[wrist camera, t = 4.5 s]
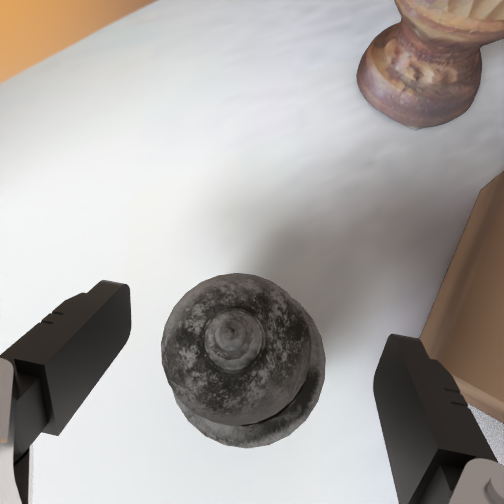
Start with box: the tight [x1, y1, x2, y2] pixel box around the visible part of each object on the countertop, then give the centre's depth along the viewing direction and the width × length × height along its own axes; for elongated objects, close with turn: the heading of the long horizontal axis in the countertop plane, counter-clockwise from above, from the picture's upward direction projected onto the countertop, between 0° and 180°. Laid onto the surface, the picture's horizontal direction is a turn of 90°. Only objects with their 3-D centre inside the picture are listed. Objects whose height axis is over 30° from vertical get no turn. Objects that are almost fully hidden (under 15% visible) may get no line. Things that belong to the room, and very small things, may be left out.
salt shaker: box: [161, 273, 326, 448], centre depth 10 cm, size 6×6×12 cm
